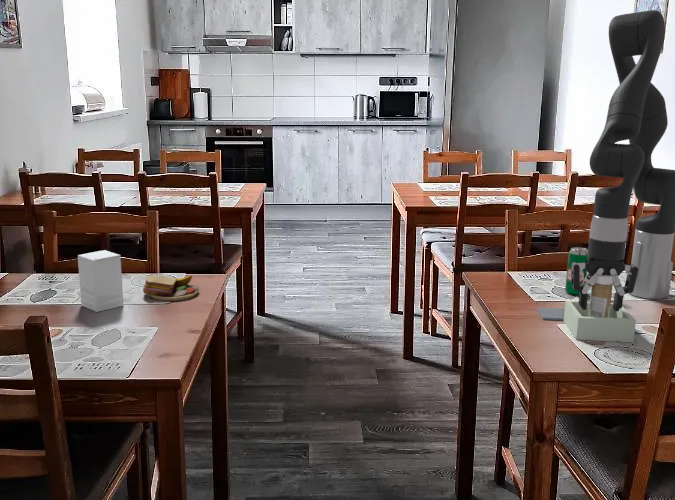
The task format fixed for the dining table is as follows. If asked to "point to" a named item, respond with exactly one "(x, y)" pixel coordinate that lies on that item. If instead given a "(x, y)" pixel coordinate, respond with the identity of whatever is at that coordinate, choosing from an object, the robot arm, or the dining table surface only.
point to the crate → (599, 324)
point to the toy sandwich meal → (169, 288)
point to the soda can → (574, 256)
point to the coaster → (551, 313)
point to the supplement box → (100, 280)
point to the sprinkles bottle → (601, 297)
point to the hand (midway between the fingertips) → (599, 309)
